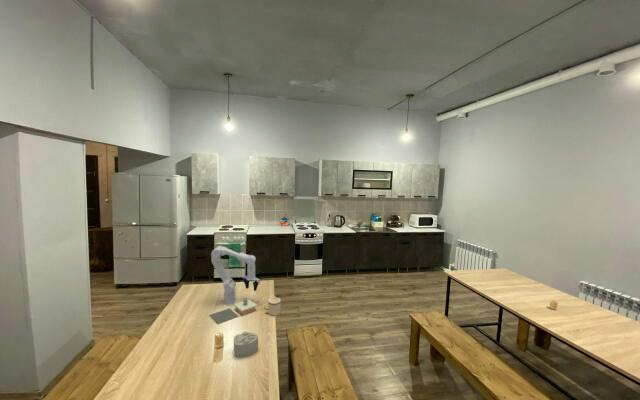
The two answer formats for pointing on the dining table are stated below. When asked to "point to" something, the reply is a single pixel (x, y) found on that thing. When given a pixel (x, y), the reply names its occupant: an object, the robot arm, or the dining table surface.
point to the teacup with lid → (273, 306)
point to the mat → (223, 316)
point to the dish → (246, 311)
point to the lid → (245, 305)
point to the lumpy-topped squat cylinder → (245, 344)
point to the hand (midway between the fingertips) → (251, 289)
